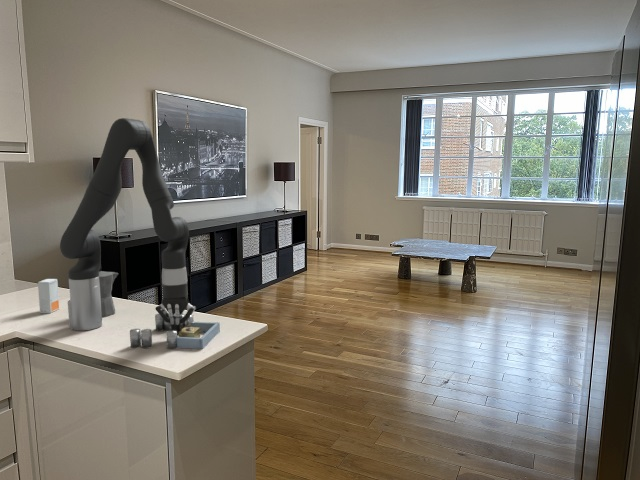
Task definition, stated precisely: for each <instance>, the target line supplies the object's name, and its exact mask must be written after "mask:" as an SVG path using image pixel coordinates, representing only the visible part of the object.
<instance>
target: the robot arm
mask: <svg viewBox="0 0 640 480" xmlns="http://www.w3.org/2000/svg"><path fill="white" fill-rule="evenodd" d="M131 150H132V151H135V153H136V154H137V157H138V158H139V160H140V163H141V169H142V174H141V175H142V176H141V177H142V179H141V182H142V189H143V193H144V196H145V198H146V200H147V203H148V205H149V207H150V211H151V217H152V224H153V229H154V232H155V234H156V236H157V237H158V238H159V240H161V241H162V242H165V243H167V247H165V249H163V250H162V252H161V268H162V269H161V287H162V288H161V289H162V291H161V292H162V299H161V304H159V305H157V306H155V311H156V312H157V314H160V316H161V317H162V318H163V319H164V321H165V322H169V323H171V330H177V337H179V331H181V330H182V323H184V322H185V321H187V320H188V318H189V317H190V316H191V315H193V313H194V312H195V311H196V310H197V306H195V305H192V304H191V303H190V300H189V296H188V295H189V293H188V291H189V290H188V272H187V267H186V265H187V263H186V262H187V261H186V251H187V248H188V242H189V237H190V229H189V228H190V227H189V225H188V222H187V221H186V219H184V218H183V217H180V216H175V217H172V214H171V212H172V211H171V210H172V209H173V208H174V207H175V203H174V199H173V197H172V194H171V192H170V190H169V188H168V185H167V182H166V181H165V178H164V176H163V172H162V168H161V165H160V161H159V160H160V159H159V157H158V153H157V148H156V144H155V141H154V136H153V133H152V130H151V128H150V126H149V124H148V123H147V122H145V121H143V120H141V119H135V118H134V119H133V118H127V117H125V118H124V117H123V118H118V119H116V120H115V121H114V122H113V123H112V125H111V126H110V128H109V131H108V133H107V137H106V140H105V143H104V147H103V151H102V153H101V156H100V157H99V158H100V159H99V160H98V163H97V165H96V168H95V170H94V172H93V175H92V177H91V178H90V181H89V183H88V186H86V189H85V192H84V194H83V197H82V199H81V201H80V203H79V205H78V207H77V209H76V212H75V214H74V215H73V218H72V219H71V220H70V222H69V224H68V226H67V227H66V229H65V231H64V232H63V234H62V235H61V237H60V242H59V249H60V253H61V254H62V256H63V257H64V258H66V259H70V260H75V259H78V260H77V262H76V264H74V265H73V266H72V267H71V268H70V269H69V270H68V273H67V274H68V287H69V289H68V290H69V297H70V299H69V300H67V311H68V313H67V315H68V327H69V329H71V330H75V331H88V330H89V331H90V330H95V329H98V328H100V327H102V326H103V317H102V312H101V297H100V282H99V270H100V267H102V264H101V263H102V261H101V260H102V259H101V258H102V255H101V254H102V253H101V252H102V249H101V248H102V247H101V245H102V244H101V239H100V237H99V235H98V233H97V232H96V231H95V230H94V229H93V228H94V226H95V225H96V224H97V223H98V222H99V221H100V220H101V219H103V218H104V216H105V215H107V214H108V213H109V212H110V210H112V208H113V207H114V205H115V204H116V202H117V200H118V198H119V196H120V194H121V191H122V187H123V180H122V172H121V171H122V166H123V165H122V164H123V162H124V160H125V158H126V155H127V154H128V153H129V151H131ZM185 310H186V311H187V312H186V313H185V314H184V312H185ZM183 314H184V315H185V316H184V317H183V318H182V316H183Z"/></svg>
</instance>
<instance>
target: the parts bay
mask: <svg viewBox="0 0 640 480" xmlns="http://www.w3.org/2000/svg"><path fill="white" fill-rule="evenodd" d="M220 325H221V324H220V322H213V321H194V322H191V327H198V328H200V333H204V334H203V335H202V336H200V338H192V337H179V336H177V348H178V349H198V350H199V349H200V350H203V349H205V348H206V346H207V345H208V344H209V343H210V342H211V341H212V340H213V339H214V338H215V337H216V336H217V335H218V334H219V333H220V332H221V331H220V327H221V326H220ZM177 348H176V349H177Z"/></svg>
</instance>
